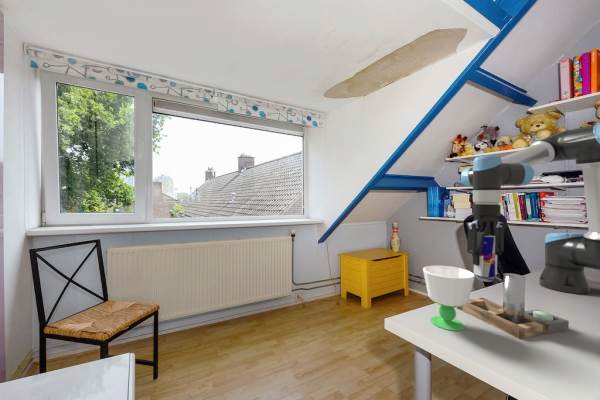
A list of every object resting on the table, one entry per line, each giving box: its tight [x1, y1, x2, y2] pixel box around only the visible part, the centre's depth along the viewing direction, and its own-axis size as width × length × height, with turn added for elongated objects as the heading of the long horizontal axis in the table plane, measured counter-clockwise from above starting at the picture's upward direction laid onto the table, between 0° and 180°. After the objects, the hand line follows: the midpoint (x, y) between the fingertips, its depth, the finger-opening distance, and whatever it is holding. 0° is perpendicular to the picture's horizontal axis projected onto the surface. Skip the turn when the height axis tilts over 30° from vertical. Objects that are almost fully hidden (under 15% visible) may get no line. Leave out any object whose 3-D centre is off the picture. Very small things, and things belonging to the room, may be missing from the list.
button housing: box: [525, 309, 570, 334], centre depth 79 cm, size 8×8×2 cm
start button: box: [533, 310, 553, 322], centre depth 79 cm, size 4×4×2 cm
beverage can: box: [475, 234, 496, 283], centre depth 87 cm, size 5×5×15 cm
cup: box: [422, 265, 476, 332], centre depth 80 cm, size 14×14×16 cm
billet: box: [502, 272, 526, 324], centre depth 78 cm, size 5×5×15 cm
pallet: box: [456, 297, 550, 340], centre depth 82 cm, size 11×20×2 cm, turn 15°
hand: (485, 274), depth 87 cm, fingers closed on beverage can, 5 cm apart
